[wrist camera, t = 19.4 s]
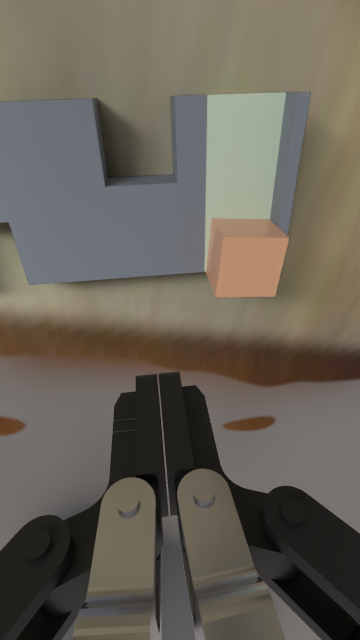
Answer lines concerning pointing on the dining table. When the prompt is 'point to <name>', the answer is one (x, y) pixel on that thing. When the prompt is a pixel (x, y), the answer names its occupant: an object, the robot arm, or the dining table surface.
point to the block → (245, 257)
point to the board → (143, 184)
